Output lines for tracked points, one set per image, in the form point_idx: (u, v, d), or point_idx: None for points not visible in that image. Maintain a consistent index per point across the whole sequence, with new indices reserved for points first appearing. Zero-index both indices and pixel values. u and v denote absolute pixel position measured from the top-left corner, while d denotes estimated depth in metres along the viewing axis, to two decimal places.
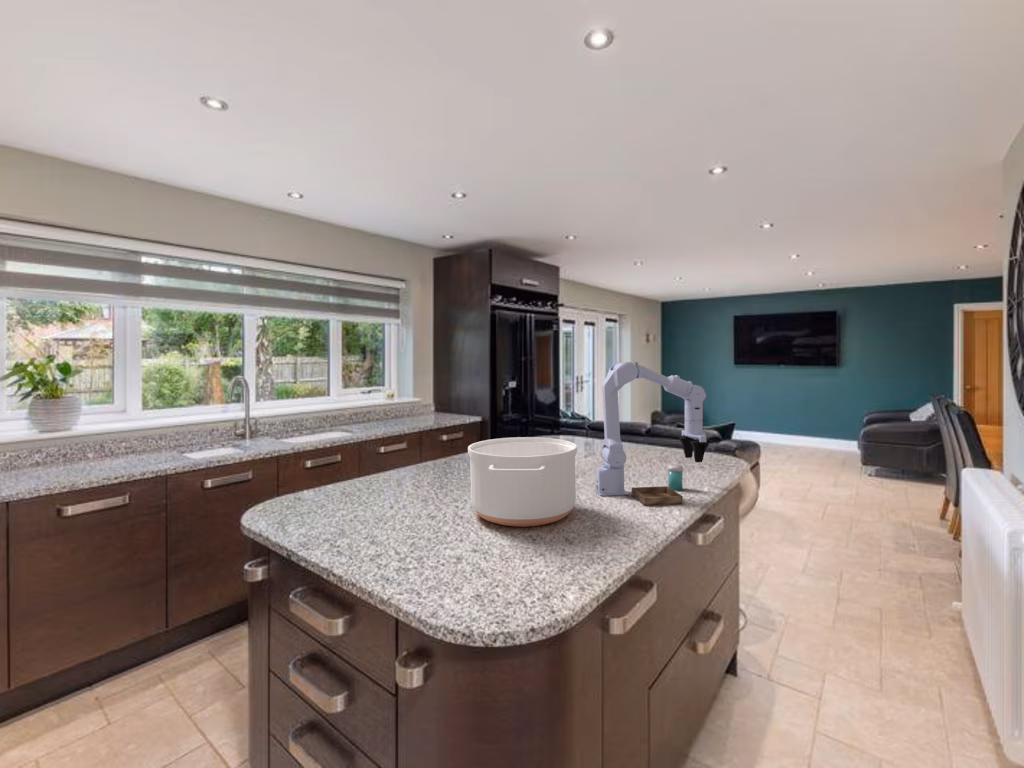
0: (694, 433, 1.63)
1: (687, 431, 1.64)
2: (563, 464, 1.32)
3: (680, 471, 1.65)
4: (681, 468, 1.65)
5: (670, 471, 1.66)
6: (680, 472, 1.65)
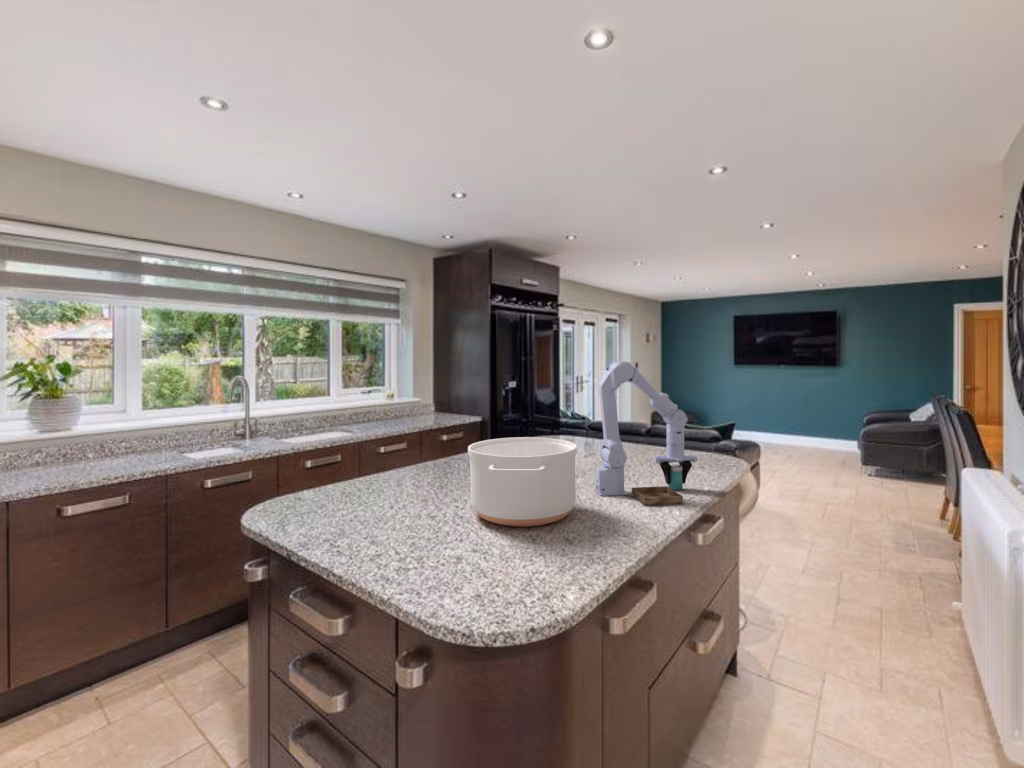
0: None
1: None
2: (563, 464, 1.32)
3: (680, 471, 1.65)
4: (681, 468, 1.65)
5: None
6: (680, 472, 1.65)
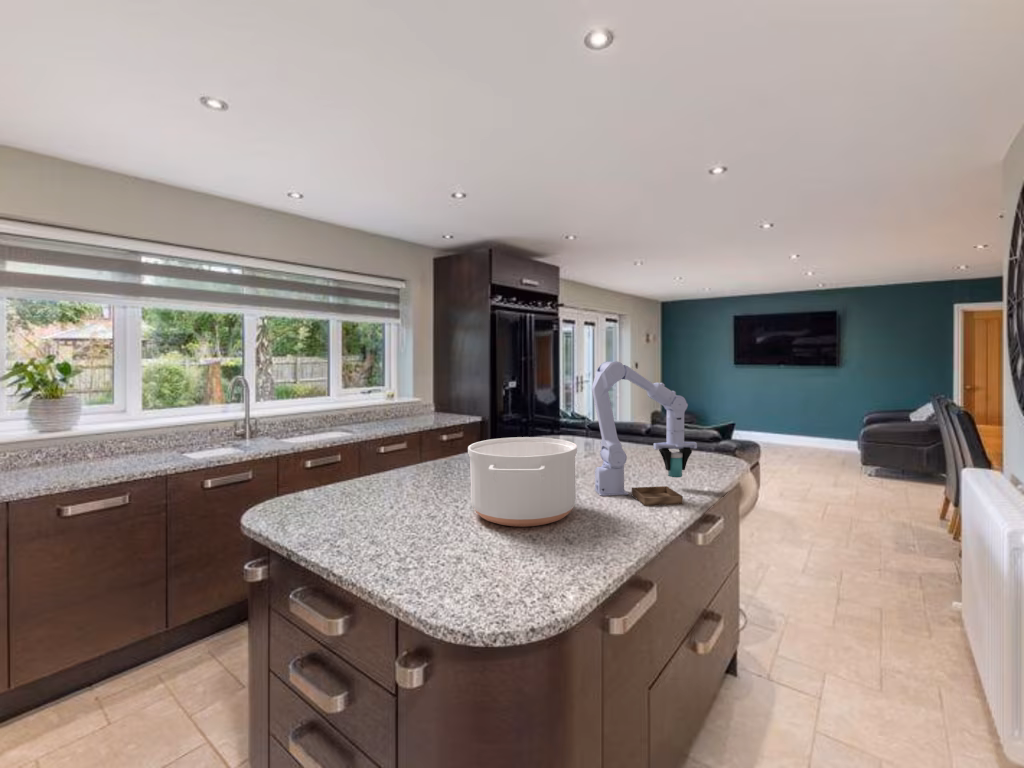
0: None
1: None
2: (563, 464, 1.32)
3: (680, 457, 1.64)
4: (681, 454, 1.65)
5: (670, 458, 1.65)
6: (680, 458, 1.65)
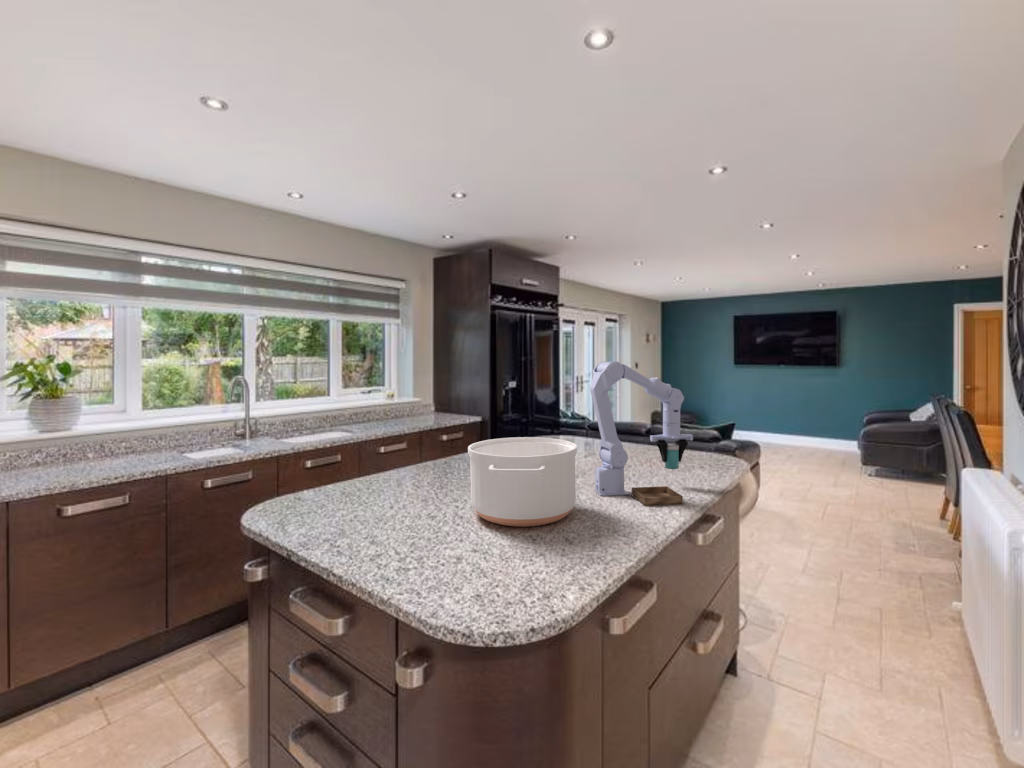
0: (662, 434, 1.70)
1: None
2: (563, 464, 1.32)
3: (676, 450, 1.67)
4: (677, 447, 1.67)
5: None
6: (676, 451, 1.67)
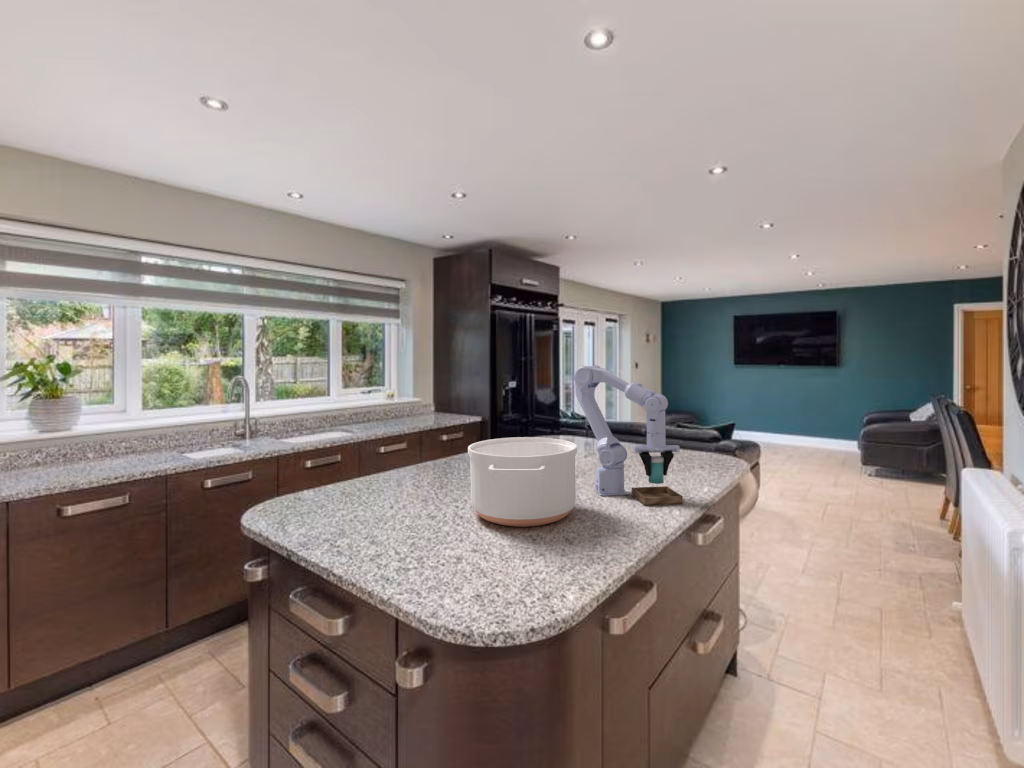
0: (646, 445, 1.55)
1: None
2: (563, 464, 1.32)
3: (660, 462, 1.53)
4: (661, 459, 1.53)
5: None
6: (660, 463, 1.53)
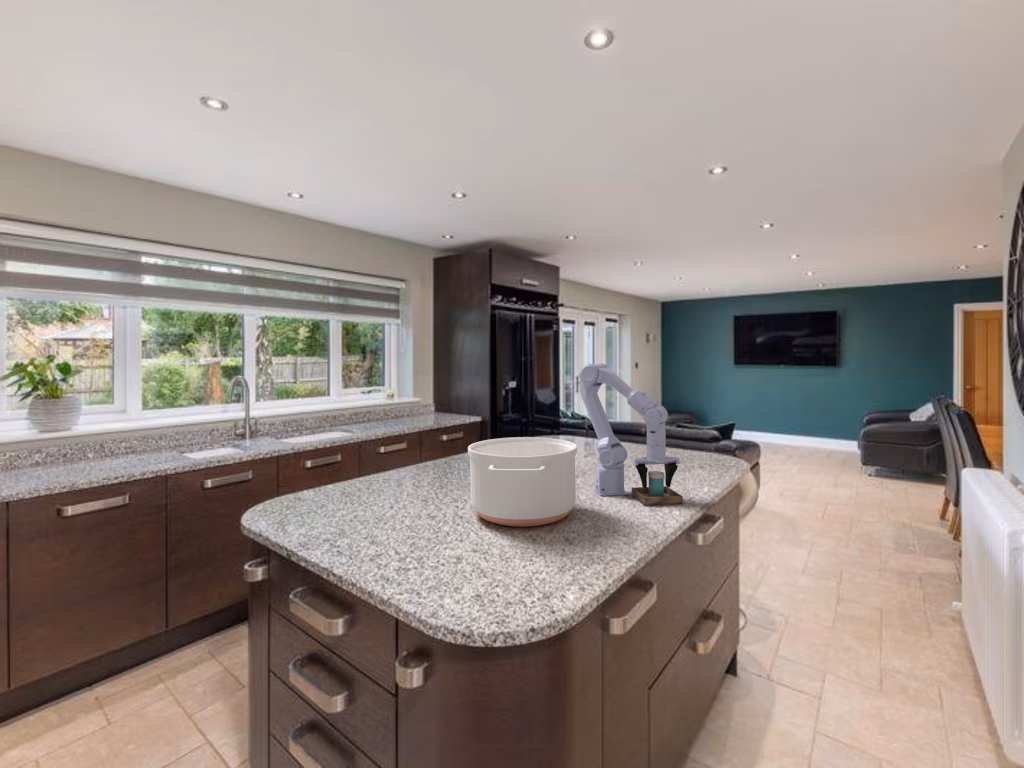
0: None
1: None
2: (563, 464, 1.32)
3: (660, 478, 1.53)
4: (661, 475, 1.53)
5: (649, 478, 1.54)
6: (660, 479, 1.53)
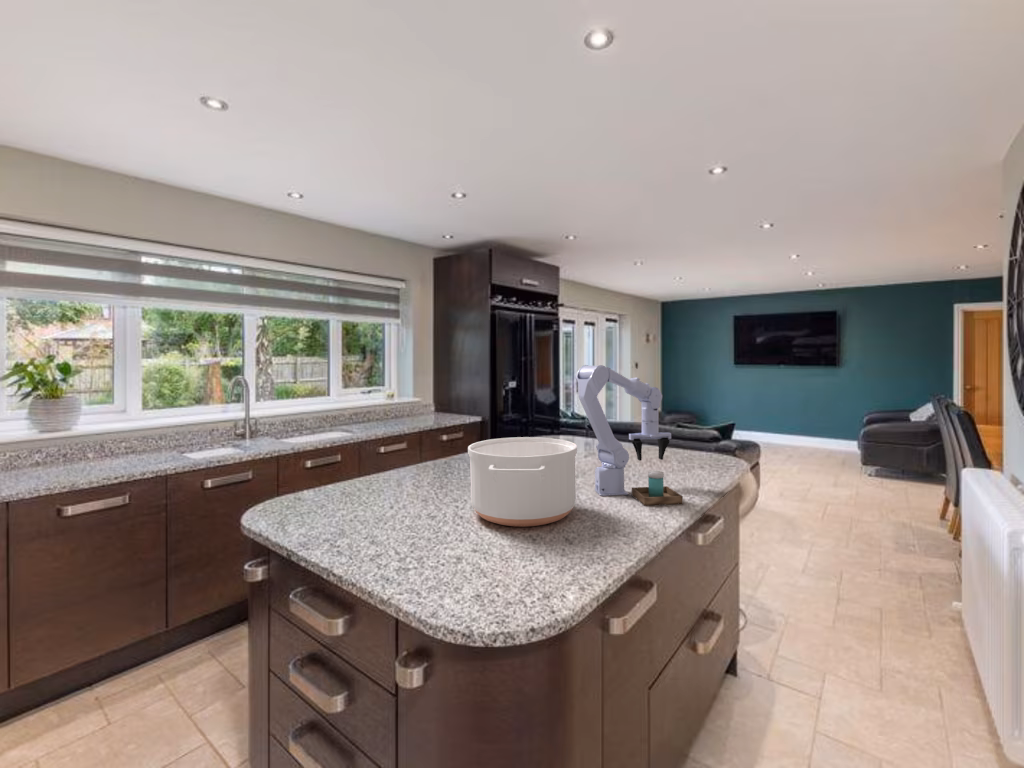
0: None
1: None
2: (563, 464, 1.32)
3: (660, 478, 1.53)
4: (661, 475, 1.53)
5: (649, 478, 1.54)
6: (660, 479, 1.53)
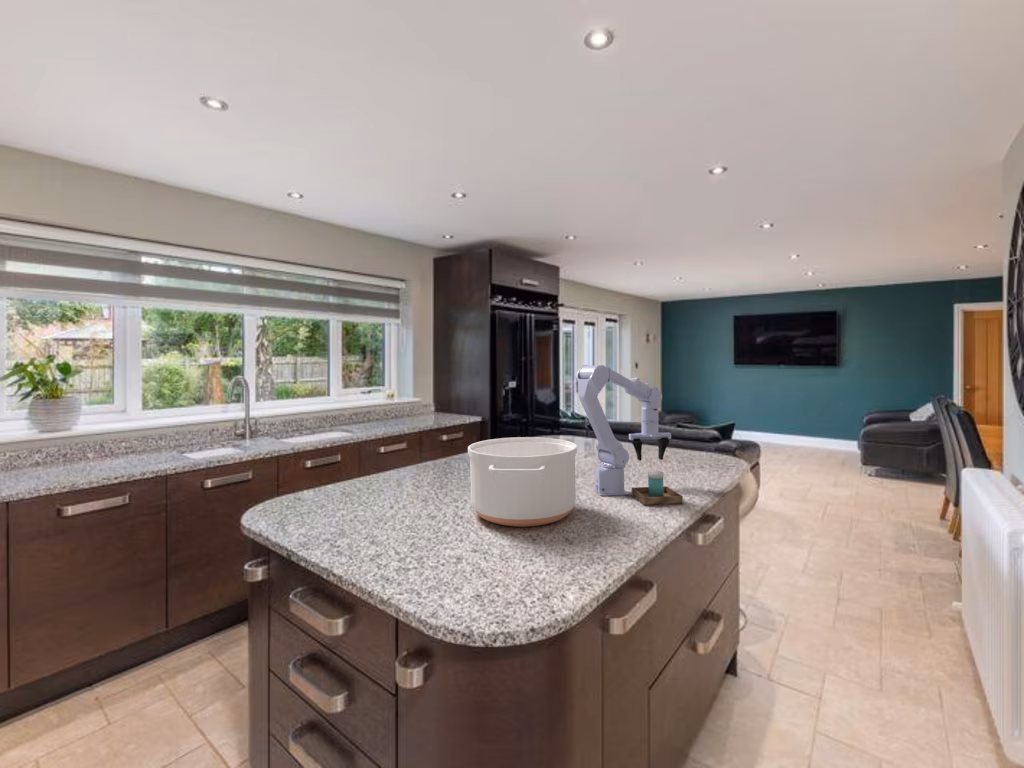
0: None
1: None
2: (563, 464, 1.32)
3: (660, 478, 1.53)
4: (661, 475, 1.53)
5: (649, 478, 1.54)
6: (660, 479, 1.53)
